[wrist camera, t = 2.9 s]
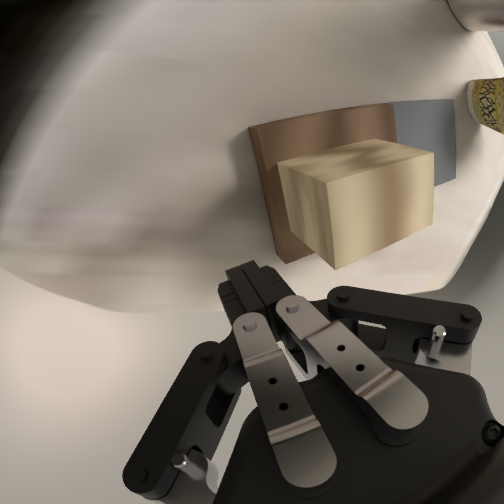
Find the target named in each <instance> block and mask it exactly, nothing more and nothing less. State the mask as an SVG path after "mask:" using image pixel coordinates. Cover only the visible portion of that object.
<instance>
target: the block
mask: <svg viewBox="0 0 504 504" xmlns="http://www.w3.org/2000/svg"><path fill="white" fill-rule="evenodd" d="M277 165H278V170H279V175H280V180H281V184H282V189H283V194H284V200H285V205H286V210H287V215H288V221H289V226H290V231H291V232H292V233H293V234H295V235H296V236H297V237H298V238H299V239H300V240H302V241H303V242H304V243H305V244H306V245H307V246H308V247H310V248H311V249H312V250H313V251H314V252H315V253H316V254H318V255H319V256H320V257H321V258H322V259H323V260H324V261H326V262H327V263H328V264H329V265H330V266H331V267H332V268H333V269H334V270H337V269H339V268H342V267H344V266H346V265H348V264H350V263H353V262H355V261H357V260H359V259H361V258H363V257H366V256H368V255H370V254H372V253H374V252H376V251H378V250H381V249H383V248H385V247H387V246H389V245H391V244H393V243H395V242H397V241H399V240H401V239H403V238H405V237H408V236H410V235H412V234H414V233H416V232H418V231H420V230H422V229H424V228H426V227H428V226H430V225H431V224H432V220H433V202H434V153H433V152H429V151H426V150H422V149H418V148H414V147H410V146H406V145H402V144H397V143H393V142H388V141H383V140H379V139H371V140H367V141H362V142H357V143H353V144H348V145H344V146H340V147H336V148H331V149H327V150H323V151H319V152H315V153H311V154H308V155H304V156H300V157H296V158H292V159H289V160H285V161H282V162H278V163H277Z"/></svg>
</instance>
